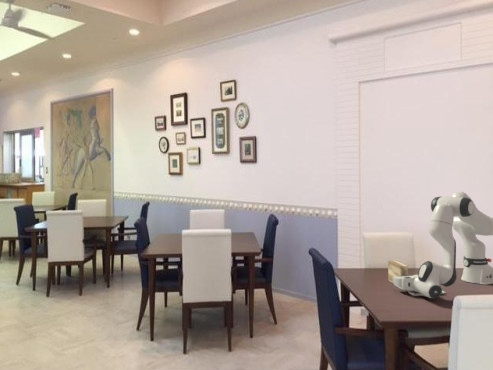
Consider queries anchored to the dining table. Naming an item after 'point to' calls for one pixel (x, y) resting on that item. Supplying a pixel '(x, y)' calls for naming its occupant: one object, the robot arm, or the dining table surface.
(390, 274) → the board
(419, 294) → the trap pen
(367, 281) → the dining table surface
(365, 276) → the dining table surface
